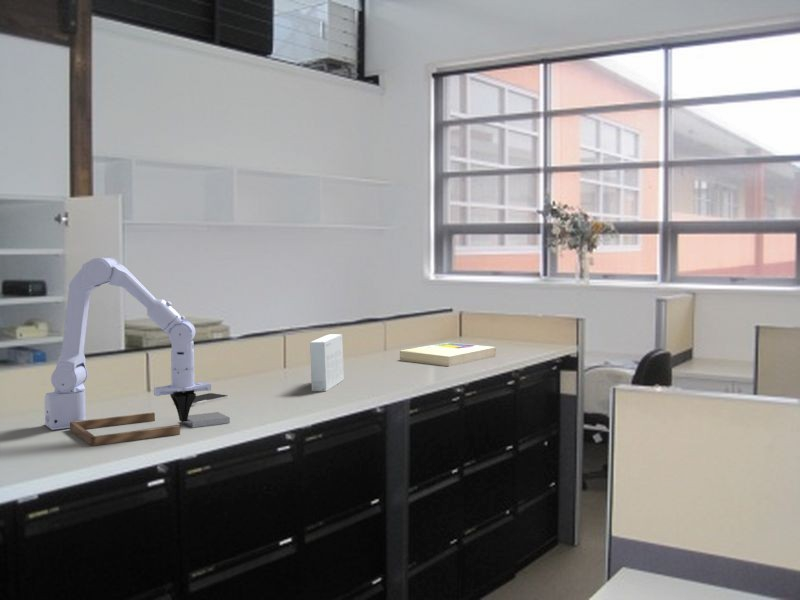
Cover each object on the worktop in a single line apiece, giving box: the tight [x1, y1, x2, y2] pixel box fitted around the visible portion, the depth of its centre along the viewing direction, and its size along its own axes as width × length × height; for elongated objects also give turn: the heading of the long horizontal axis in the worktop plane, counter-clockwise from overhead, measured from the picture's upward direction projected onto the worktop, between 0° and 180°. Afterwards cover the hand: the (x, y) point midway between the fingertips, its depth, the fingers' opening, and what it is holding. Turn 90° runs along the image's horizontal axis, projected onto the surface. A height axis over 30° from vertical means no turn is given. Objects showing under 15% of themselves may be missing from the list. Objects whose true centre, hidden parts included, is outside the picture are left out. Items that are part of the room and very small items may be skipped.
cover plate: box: [182, 411, 231, 429], centre depth 215 cm, size 10×8×2 cm
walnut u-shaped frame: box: [69, 411, 181, 447], centre depth 203 cm, size 21×19×2 cm
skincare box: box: [309, 333, 345, 392], centre depth 270 cm, size 21×5×16 cm, turn 168°
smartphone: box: [191, 392, 229, 407], centre depth 243 cm, size 8×1×15 cm
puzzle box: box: [399, 342, 497, 367], centre depth 335 cm, size 36×5×24 cm
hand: (183, 420), depth 212 cm, fingers closed
